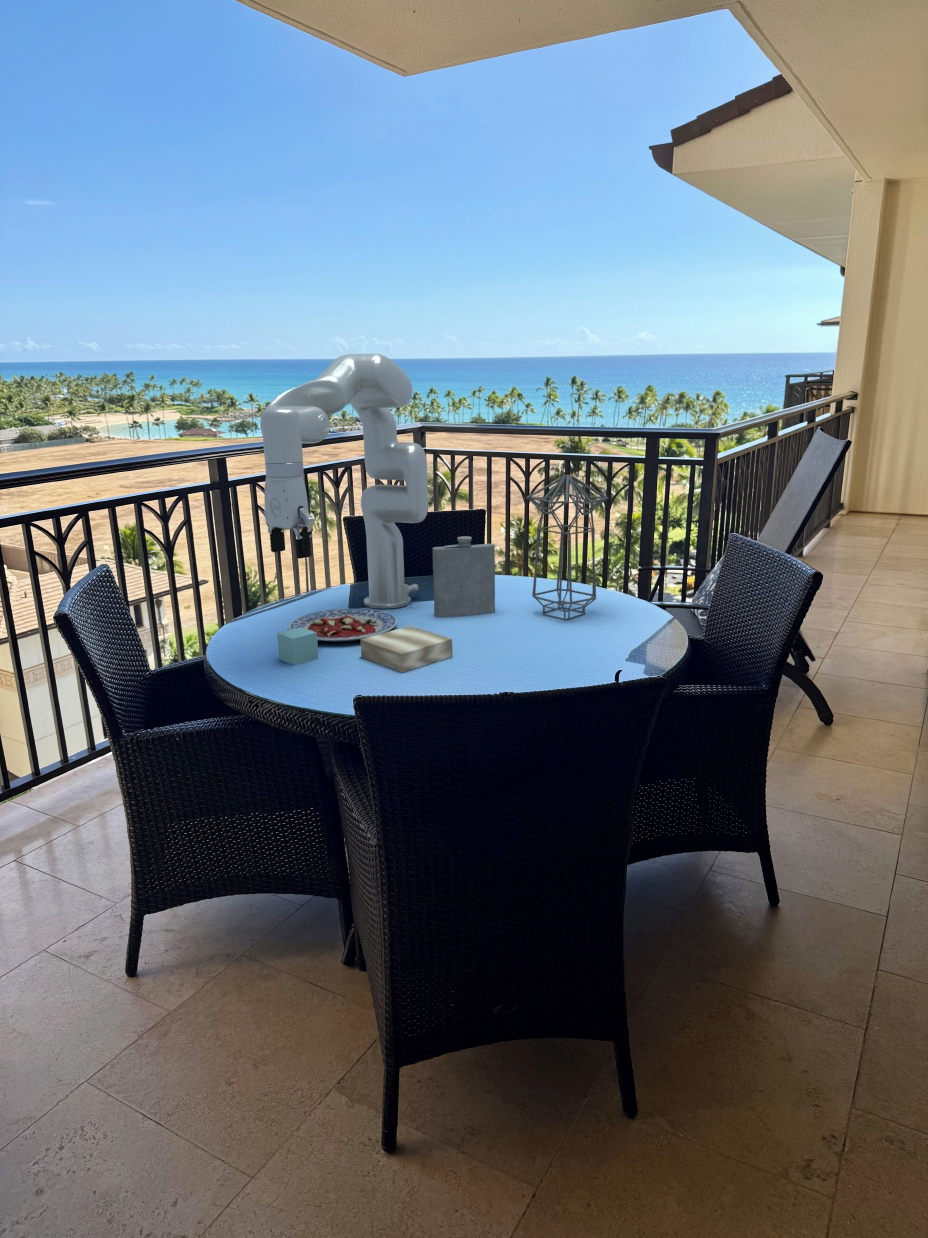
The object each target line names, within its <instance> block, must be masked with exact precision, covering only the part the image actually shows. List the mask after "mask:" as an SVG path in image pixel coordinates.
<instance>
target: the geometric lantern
mask: <svg viewBox="0 0 928 1238" xmlns="http://www.w3.org/2000/svg"><path fill="white" fill-rule="evenodd" d="M569 483H570V484H569ZM553 485H554V486H553ZM569 485H571V490H572V491H571V492H572V493H569V491H570V490H569V489H570V487H569ZM551 486H553V487H552V488H551V489H550V490H549V491H548V492H547V494H545V495H544V496H535V495H537V494H538V493H541V492H542V491H544V490H546V489H548V488H550V487H551ZM582 486H583V487H585V488H586V489H588V490H590V491H592V492H593V493H594V494H596V495H598V496H590V494H589V493H588V492H587V491H586V490H585V489H584V488H583V487H582ZM564 487H565V493H563V490H564ZM560 488H561V490H560ZM559 490H560V492H559ZM552 493H553V494H552ZM551 494H552V496H550V495H551ZM563 495H565V500H559V499H560V498H561V496H563ZM555 498H556V499H555ZM569 498H570V500H572V501H569ZM576 498H577V499H578V500H576ZM548 499H549V500H548ZM554 499H555V500H554ZM609 499H610V498H609V497H608V496H606V495H605V494H603V493H602V492H599V491H598V490H596V489H595V488H593V487H591V486H590V485H588V484H587V483H585V482H584V481H582V480H581V479H580V478H577V477H575V476H574V475H572V474H571V475H570V474H563V476H561V477H559V478H558V479H556V480H554V481H553V482H551V483H549V484H546V485H545V486H543V487H542V488H540V489H538V490H535V491H534V492H533V493H530V494H529V495H527V496H526V500H528V501H529V502H531V504H532V505H533V506H535V507H536V508H537V510H539V511H540V513H541V514H540V517H539V520H538V524H537V527H536V530H537V531H536V544H535V546H536V548H535V563H534V572H533V573H534V575H533V585H532V594H531V596H532V598H534V599H535V600H536V601H537V602H538V603H539V604H540V606H542V613H541V614H542V615H544V616H547V617H550V618H554V619H557V620H558V619H559V620H562V619H563V620H564V621H569V620H572V619H575V618H578V617H581V616H583V615H586V608H587V606H589V605H591V604H592V603H593V602H594V601H596V600H597V588H596V586H597V585H596V562H595V561H596V560H595V555H596V554H595V551H596V549H595V546H596V545H595V544H596V542H595V540H596V539H595V535H596V528H595V524H594V514H593V512H594V511H595V510H596V509H597V508H598V507H599V506H601V505H602V504H603V503H604V502H605V501H607V500H609ZM537 501H539V502H537ZM545 503H548V506H546V507H545ZM556 504H557V505H558V504H559V505H558V506H556ZM566 504H573V505H574V507H575V508H576V510H577V512H576V514H575V515H574V517H573V519H572V520H571V521H570V523H569V524H563V523H562V522H561V519H559V517H558V515H557V514H556V511H557V510H559V509H561V507H564V505H566ZM586 504H587V505H590V507H589V508H587V507H585V505H586ZM555 506H556V507H555ZM554 507H555V508H554ZM545 510H549V511H545ZM544 515H551V516H552V517H553V520H554V521H555V524H556V525H550V526H549V525H548V526H542V525H543V518H544ZM586 515H587V517H588V523H589V526H590V527H587V526H586V527H585V526H579V525H575V523H576V522H577V520H578V519H579V517H580V516H586ZM557 527H558V528H559V530H560V531H555V530H549V529H551V528H557ZM564 528H568V529H567V531H566V532H564ZM572 528H579V529H585V530H583V531H581V530H580V531H576V532H575V531H574V532H571V529H572ZM547 529H548V530H547ZM586 529H587V530H586ZM542 532H546V533H547V532H548V533H554V534H560V540H559V554H558V564H557V565H558V566H557V579H556V588H553V589H549V590H546V591H541V592H537V590H536V589H537V575H538V564H539V563H538V561H539V552H540V544H541V543H540V542H541V533H542ZM590 532H591V533H590ZM585 533H590V534H591V554H592V555H591V556H592V557H591V559H592V564H591V565H592V567H591V569H592V577H591V578H592V581H591V582H592V587H591V588H592V593H588V592H584V591H579V590H574V589H572V587H573V584H572V535H575V534H576V535H577V534H585ZM564 535H567V565H566V566H567V569H566V571H567V572H566V588H562V586H563V585H562V584H563V583H562V582H563V561H564V560H563V559H564V558H563V557H564V556H563V555H564ZM553 592H556V593H557V598H558V600H557V601H556V600H552V599H549V598H544V597H540V595H544V594H549V593H553ZM562 592H565V594H564V596H563V599H562ZM568 593H569V601H566V597H567V594H568ZM573 593H575V594H579V595H584V596H590V598H589V597H588V598H584V599H583V598H582V599H578V600H573ZM541 601H544V602H548V603H547V604H546V603H545V604H543V603H542V602H541ZM582 602H585V603H584V604H583V603H582ZM554 604H556V605H557V607H553V606H551V605H554ZM565 605H569V606H568V607H564V606H565ZM572 605H575V606H579V607H574V608H572ZM546 609H550V610H546ZM580 609H582V610H580ZM553 611H560V612H563V617H559V616H556V615H552V614H547V613H550V612H553ZM571 611H573V612H577V613H580V614H577V615H575V616H571V615H570V614H571ZM567 612H568V613H567ZM566 613H567V614H568V615H567V616H568V617H567V618H566Z"/></svg>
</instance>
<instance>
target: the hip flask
mask: <svg viewBox="0 0 928 1238" xmlns="http://www.w3.org/2000/svg"><path fill="white" fill-rule="evenodd" d="M456 539H457V540H456V541H457V542H458V543H457V544H450V545H444V546H434V547H432V571H433V572H432V573H433V574H432V575H433V578H432V579H433V580H432V582H433V584H432V585H433V609H434V612H433V613H434V614H433V615H434V616H433V617H435V618H458V617H460V618H461V617H471V616H472V617H473V616H480V615H490V614H494V613H495V612H496V569H495V568H496V558H495V557H496V556H495V555H496V554H495V553H496V547H495V546H496V545H495V543H483V544H472V543H471V542H472V536H469V535H468V536H465V535H463V536H458V537H457V538H456Z"/></svg>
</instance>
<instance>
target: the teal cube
mask: <svg viewBox="0 0 928 1238" xmlns="http://www.w3.org/2000/svg"><path fill="white" fill-rule="evenodd" d="M277 642H278V644H277V645H278V657H279V660H281V661H284V662H286V663H288V664H290V665H293V666H297V665H302V664H305V663H308V662H311V661H316V660H318V659H319V645H318V640H317V633H316V632H314V631H311V630H308V629H305V628H303V627H299V628H295V629H291V630H289V629H288V630H287V629H286V630H284V631H280V632H277Z"/></svg>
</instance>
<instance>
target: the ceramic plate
mask: <svg viewBox="0 0 928 1238" xmlns="http://www.w3.org/2000/svg"><path fill="white" fill-rule="evenodd" d="M397 624H398V619H397V618H396V616H394V615H393V614H391V613H390V612H389V613H388V612H385V611H382V610H377V609H368V608H336V609H329V610H328V609H327V610H322V611H317V612H313V613H308V614H305V615H303V616H300V617H297V618H295V619H294V620H292V621H291V622H290V623H289V625H288V630H291V629H295V628H299V627H303V628H305V629H308V630H311V631H314V632H316V633H317V641H323V642H331V643H334V642H335V643H336V642H337V643H338V642H340V643H341V642H353V641H358V640H361V639H364V638H368V637H371V636H375V635H379V634H382V633H386V632H390V631H392V630H393V629H394V628H395V627H396V625H397Z"/></svg>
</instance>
